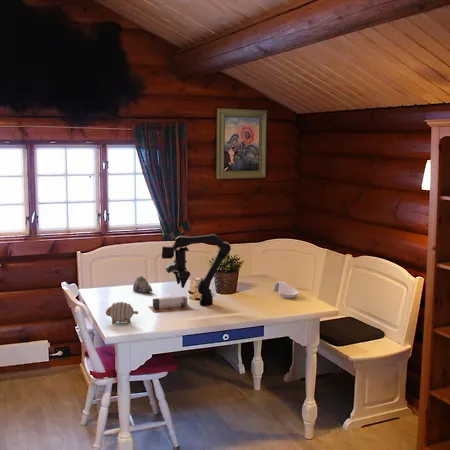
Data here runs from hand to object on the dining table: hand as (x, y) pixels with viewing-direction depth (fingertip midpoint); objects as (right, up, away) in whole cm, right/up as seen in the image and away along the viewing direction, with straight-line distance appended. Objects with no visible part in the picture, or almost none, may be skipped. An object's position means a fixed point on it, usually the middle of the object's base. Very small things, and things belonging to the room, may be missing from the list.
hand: (180, 285), depth 362 cm
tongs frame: (-5, -11, -5) cm, 13 cm away
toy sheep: (-28, -17, -30) cm, 44 cm away
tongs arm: (-6, -11, -6) cm, 14 cm away
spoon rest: (+61, -9, +30) cm, 68 cm away
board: (-5, -13, -5) cm, 15 cm away
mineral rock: (-25, -7, +34) cm, 43 cm away
